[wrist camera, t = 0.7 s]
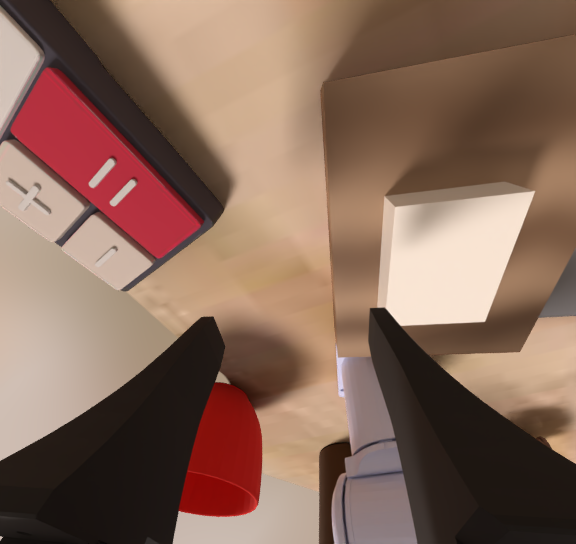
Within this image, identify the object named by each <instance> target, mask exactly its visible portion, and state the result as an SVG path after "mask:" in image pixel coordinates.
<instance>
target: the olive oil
mask: <svg viewBox="0 0 576 544" xmlns="http://www.w3.org/2000/svg"><path fill="white" fill-rule="evenodd" d="M351 456H352V452H351V444H350V443H339V444H334V445H330V446H328V447H326V448H324V449H323V450H322V451H321V452H320V455H319V496H320V499H319V502H320V503H319V544H334V537H333V529H332V498H333V492H334V489H335V487H336V483H337V480H338V478H339V476H340V475H341V474H343V473H346V467H345V458H347V457H351Z"/></svg>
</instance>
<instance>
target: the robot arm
mask: <svg viewBox="0 0 576 544" xmlns="http://www.w3.org/2000/svg"><path fill="white" fill-rule="evenodd" d="M368 343H369V348H370V353H371V357H341V358H338V353H337V344H336V359H337V376H338V393H339V396H340V397H345V404H346V412H347V420H348V428H349V436H350V444H351V452H352V456H351V457H347V458H345V467H346V473H343V474H341V475H340V476H339V478H338V480H337V483H336V487H335V489H334V492H333V498H332V529H333V537H334V544H576V464H575V463H573V462H571V461H570V460H568V459H567V458H565V457H563V456H562V455H560V454H558V453H557V452H555V451H554V450H552V449H550V448H549V447H547V446H546V445H544V444H543V443H541V442H540V441H538V440H537V439H535V438H534V437H532V436H531V435H529V434H528V433H526V432H525V431H523V430H522V429H520V428H519V427H517V426H516V425H514V424H513V423H512V422H510V421H509V420H508V419H506V418H505V417H503V416H502V415H501V414H499V413H498V412H497V411H495V410H494V409H492V408H491V407H490V406H488V405H487V404H486V403H484V402H483V401H481V400H480V399H479V398H478V397H476V396H475V395H474V394H473V393H471V392H470V391H469V390H468V389H466V388H465V387H464V386H463V385H461V384H460V383H459V382H458V381H457V380H455V379H454V378H453V377H452V376H451V375H450V374H448V373H447V372H446V371H445V370H444V369H443V368H442V367H441V366H440V365H438V364H437V363H436V362H435V361H434V360H433V359H432V358H431V357H430V356H429V355H428V354H427V353H426V352H425V351H424V350H423V349H422V348H421V347H420V346H419V345H418V344H417V343H416V342H415V341H414V340H413V339H412V338H411V337H410V336H409V335H408V333H407V332H406V331H405V330H404V329H403V328H402V327H401V326H400V325H399V323H398V322H397V321H396V320H395V319H394V317H393V316H392V315H391V314H390V313H389V311H388V310H387V309H386V308H385V307H382V308H370V313H369V334H368ZM224 349H225V344H224V342H223V339H222V337H221V334H220V332H219V329H218V327H217V324H216V322H215V319H214V317H201V318H200V319H199V320H198V321H196V322H195V323H194V324H193V325H192V326H191V327H190V328H189V329H188V330H187V331H186V332H185V333H184V334H183V335H182V336H180V337H179V338H178V339H177V340H176V341H175V342H174V343H173V344H172V345H171V346H170V347H169V348H168V349H167V350H165V352H163V353H162V354H161V355H160V356H159V357H157V358H156V359H155V360H154V361H153V362H152V363H151V364H149V365H148V366H147V367H146V368H145V369H144V370H143V371H141V372H140V373H139V374H138V375H136V376H135V377H134V378H132V379H131V380H130V381H129V382H127V383H126V384H125V385H124V386H122V387H121V388H120V389H118V390H117V391H115V392H114V393H112V394H111V395H110V396H108V397H107V398H105V399H104V400H102V401H101V402H99V403H98V404H96V405H95V406H94V407H92V408H90V409H89V410H87V411H86V412H84V413H83V414H81V415H80V416H78V417H76V418H75V419H74V420H72V421H70V422H68V423H67V424H65V425H64V426H62V427H60V428H58V429H57V430H55V431H54V432H52V433H50V434H48V435H47V436H45V437H43V438H42V439H40V440H38V441H36V442H34V443H32V444H30V445H29V446H27V447H25V448H23V449H21V450H20V451H18V452H16V453H14V454H12V455H10V456H9V457H7V458H5V459H3V460H1V461H0V536H2V537H3V538H2V539H1V541H0V544H173V538H174V532H175V527H176V521H177V517H178V511H179V506H180V502H181V497H182V492H183V488H184V483H185V479H186V474H187V470H188V466H189V462H190V458H191V454H192V450H193V446H194V442H195V439H196V435H197V431H198V428H199V424H200V421H201V418H202V415H203V412H204V410H205V407H206V404H207V402H208V399H209V396H210V394H211V391H212V388H213V386H214V383H215V380H216V377H217V374H218V372H219V369H220V366H221V362H222V358H223V354H224Z"/></svg>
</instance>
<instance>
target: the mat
mask: <svg viewBox="0 0 576 544" xmlns="http://www.w3.org/2000/svg"><path fill="white" fill-rule="evenodd" d="M562 316H576V248H575V250H574V252H573V254H572V256H571V257H570V259H569V261H568V263H567V265H566V267H565V269H564V271H563V272H562V274H561V276H560V278H559V280H558V282H557V284H556V285H555V287H554V289H553V291H552V293H551V295H550V297H549V299H548V300H547V302H546V304H545V306H544V308H543V310H542V312H541V314H540V315H539V317H538V318H541V317H562Z"/></svg>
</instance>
